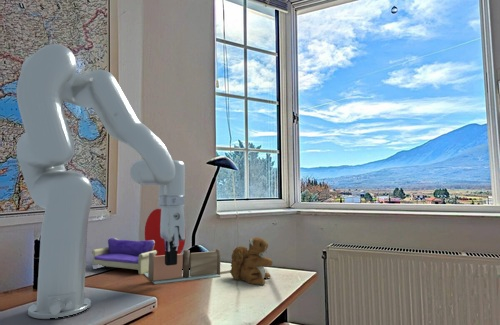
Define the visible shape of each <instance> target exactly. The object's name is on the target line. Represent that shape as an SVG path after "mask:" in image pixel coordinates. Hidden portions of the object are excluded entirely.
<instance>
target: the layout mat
mask: <svg viewBox="0 0 500 325" xmlns="http://www.w3.org/2000/svg"><path fill="white" fill-rule="evenodd" d="M143 275H144V276H145V277H146V278H147V279H148V272H147V273H144V274H143ZM189 275H190V270H189ZM218 277H219V278H220V277H221V274H220V275H218V274H208V275H199V276H189V278H183V270H182V277H181V278H172V279H163V280H155V281H151V283H153V285H161V284H168V283H169V284H170V283H179V282H186V281H193V280H195V281H196V280H203V279H211V278H212V279H213V278H218Z"/></svg>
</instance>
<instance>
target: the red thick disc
mask: <svg viewBox="0 0 500 325" xmlns="http://www.w3.org/2000/svg"><path fill="white" fill-rule="evenodd" d="M145 221H146V222H145V225H144V241H149V240H154V241H155V246H154V249H153V250H156V251H157V254H156V255H155V256H160V255H165V242H164V239H162V238H161V235H160V222H161V208H156V209H153V210H152V211H151V212H149V215H148V216H147V219H146V220H145ZM186 234H187V232H186V230H185V238H186V236H187V235H186ZM185 242H186V239H185V240H184V241H181V240H179V246H178V250H177V254H182V252H183V249H184V247H185V244H186V243H185Z"/></svg>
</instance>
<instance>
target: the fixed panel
mask: <svg viewBox="0 0 500 325" xmlns="http://www.w3.org/2000/svg"><path fill="white" fill-rule="evenodd" d="M182 252H183V253H182V254H183V268H182V269H183V278H189V276H199V275H208V274H218V275H220V276H221V255H222V254H221V252H222V250H221V249H219V248H218V249H215V250H214V251H213V250H212V251H201V252H199V251H198V252H190V249H184V250H182ZM189 268H190V275H189Z"/></svg>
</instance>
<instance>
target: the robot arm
mask: <svg viewBox="0 0 500 325" xmlns="http://www.w3.org/2000/svg"><path fill="white" fill-rule="evenodd" d="M76 71H77V60H76V57H75V54H74V53H73V51H72V50H71V49H70V48H69V47H67V46H65V45H63V44H60V43H51V44H47V45H45V46H42V47H41V48H40V49H38V50H36V52H34V53H33V54H31V55H30V56H28V57H27V58H26V59H24V61H23V63H22V65H21V68H20V74H19V77H18V81H17V86H16V101H17V107H18V110H19V114H20V117H21V121H22V126H23V129H24V133H23V134H21V136H19V138H18V140H17V143H16V149H15V151H16V159H17V161H18V162H17V163H18V164H19V167H20V171H21V173H22V177H23V179H24V182H25V185H26V189H27V191H28V193H29V196H30V198H31V200H32V202H34V204H35V205H37V206H38V207H40V208H42V209H44V215H43V218H42V223H41V228H40V239H39V240H40V243H39V260H38V261H39V262H38V274H37V275H38V277H37V294H36V302H35V303H33V304H31V305H30V306H29V307H28V309H27V315H28V316H29V317H31V318H34V319H38V320H39V319H42V320H51V319H50V318H55V319H59V318H58V317H63V316H67V315H71V314H75V313H78V312H81V311H83V310H85V309H86V308H88V307H89V306H90V305H91V306H92V301H91V299H89V298H88V297H85V284H86V280H85V279H86V264H87V263H86V262H87V248H88V247H87V244H88V243H87V242H88V229H89V228H88V226H89V217H90V212H91V209H92V207H91V206H92V202H93V197H94V190H93V186H92V183H91V181H90V179H89V178H88V177H87V176H85V175H84V174H83V173H81V172H78V171H76V170H75V171H74V170H66V167H65V164H68V163H69V162H70V161H71V160H72V159H73V157H74V155H75V150H76V149H75V148H76V147H75V143H74V140H73V136H72V134H71V130H70V127H69V124H68V121H67V118H66V114H65V111H64V106H63V102H66V103H68V104H71V105H74V106H77V107H80V108H85V109H86V108H87V109H88V108H89V109H90V108H92V109H93V110H94V112H95V113H96V115H97V117H98V119H99V120H100V122H101V123H102V125H103V127H104V128H105V130H106V132H107V134H109V136H111V138H113V139H115V140H117V141H119V142H121V143H124V144H126V145H127V146H129V147H131V148H132V149H133V150H135V152H136V153H138V155H139V156H141V158H142V159H138V160H136V161H135V162H134V163H133V164H132V165H131V167H130V170H129V174H130V178H131V179H132V181H134V182H135V183H136V184H138V185H143V186H154V185H155V186H158V207H159V208H160V209H161V222H160V235H161V238H162V239H164V242H165V264H166V265H167V266H169V265H176V264H177V250H178V246H179V240H181V241H184V240H185V241H186V237H185V231H186V222H185V209H184V207H185V199H186V198H185V196H186V194H185V193H186V192H185V191H186V189H185V187H186V186H185V185H186V183H185V180H186V179H185V178H186V166H185V163H184V162H183V161H182V160H179V159H177V160H176V159H175V160H174V159H173V158H172V156H171V154H170V152H169V150H168V149H167V146H166V145H165V144H164V142H163V141H162V140H161V139H160V138H159V137H158V136H157V135H156V134H155V133H154V132H153V131H152V130H151V129H150V128H149V127H147V125H145V124H144V123H142V121H141V120H140V119H139V118H138V117H137V114H136V113H135V111H134V109H133V108H132V105H131V104H130V101H129V100H128V98H127V96H126V95H125V93H124V92H123V90H122V88H121V86H120V85H119V82H118V80H117V79H116V77H115V76H114V75H113V74H112V73H111V72H109V71H108V70H104V69H95V70H92V71H88V72H86V73H84V74H80V73H79V72H78V73H77V72H76ZM91 306H90V307H91ZM63 318H64V317H63Z"/></svg>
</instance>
